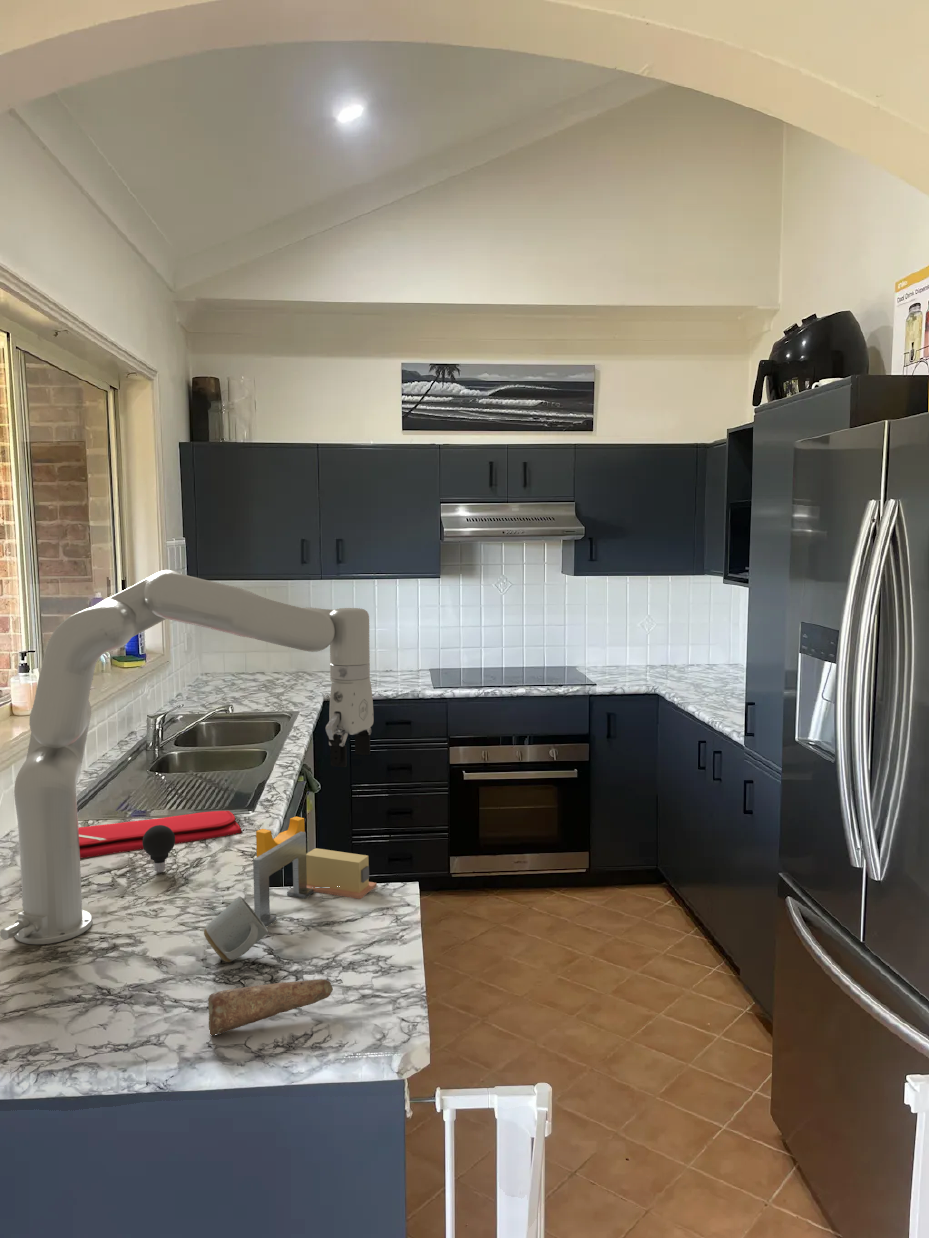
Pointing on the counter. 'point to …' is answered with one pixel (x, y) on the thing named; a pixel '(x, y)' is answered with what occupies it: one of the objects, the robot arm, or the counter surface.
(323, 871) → the tan rectangular block
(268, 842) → the pipe clamp
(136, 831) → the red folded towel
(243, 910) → the ceramic mug
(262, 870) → the grey u-shaped piece
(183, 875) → the counter surface
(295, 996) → the brown tapered cone
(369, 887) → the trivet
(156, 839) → the black rubber blower bulb
